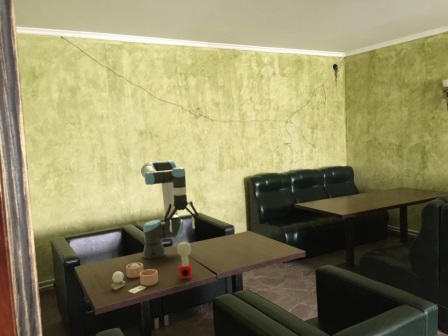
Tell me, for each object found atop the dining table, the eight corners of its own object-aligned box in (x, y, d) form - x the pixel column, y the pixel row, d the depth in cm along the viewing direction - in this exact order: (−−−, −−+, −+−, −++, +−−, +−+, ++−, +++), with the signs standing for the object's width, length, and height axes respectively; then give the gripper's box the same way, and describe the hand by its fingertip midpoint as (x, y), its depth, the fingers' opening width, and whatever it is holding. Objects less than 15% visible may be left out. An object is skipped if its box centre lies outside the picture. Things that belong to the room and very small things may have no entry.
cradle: (111, 288, 200) (111, 283, 200) (122, 283, 205) (122, 279, 205) (115, 289, 198) (114, 284, 198) (126, 285, 203) (125, 280, 203)
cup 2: (137, 283, 205) (136, 273, 204) (150, 277, 212) (149, 268, 212) (148, 287, 199) (147, 277, 199) (161, 280, 206) (160, 271, 206)
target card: (128, 291, 195) (128, 290, 195) (140, 285, 201) (140, 285, 201) (134, 293, 192) (134, 292, 192) (146, 287, 198) (146, 287, 198)
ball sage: (127, 274, 217) (127, 264, 217) (136, 270, 222) (135, 261, 221) (134, 276, 214) (133, 266, 213) (142, 272, 218) (141, 263, 218)
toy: (193, 272, 216) (191, 239, 214) (192, 278, 208) (190, 243, 206) (179, 273, 215) (177, 240, 213) (178, 279, 207) (175, 244, 205)
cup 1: (123, 275, 217) (123, 266, 217) (136, 270, 224) (135, 261, 224) (134, 279, 211) (133, 269, 211) (146, 273, 219) (146, 264, 218)
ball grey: (110, 283, 201) (109, 272, 200) (119, 279, 206) (118, 268, 205) (117, 285, 197) (116, 274, 197) (126, 281, 202) (125, 271, 201)
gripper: (159, 197, 207) (162, 234, 209) (202, 192, 215) (204, 228, 217) (157, 195, 214) (160, 231, 216) (199, 191, 222) (201, 225, 224)
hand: (182, 229), depth 217 cm, fingers open, 13 cm apart
